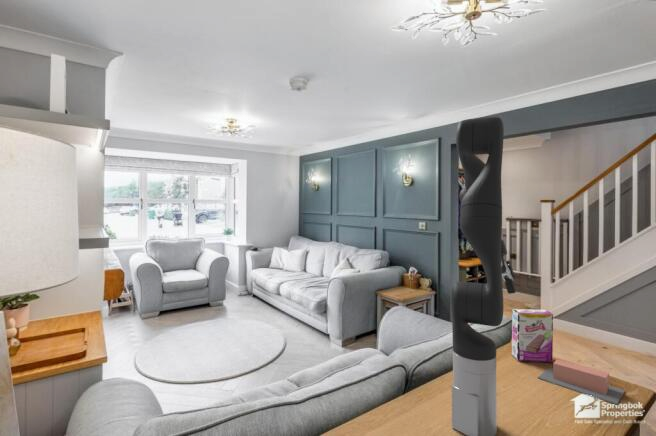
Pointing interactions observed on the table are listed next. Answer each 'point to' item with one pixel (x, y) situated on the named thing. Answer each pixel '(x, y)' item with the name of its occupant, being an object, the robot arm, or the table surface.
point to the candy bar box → (532, 335)
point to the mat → (611, 396)
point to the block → (581, 376)
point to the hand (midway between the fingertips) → (505, 293)
